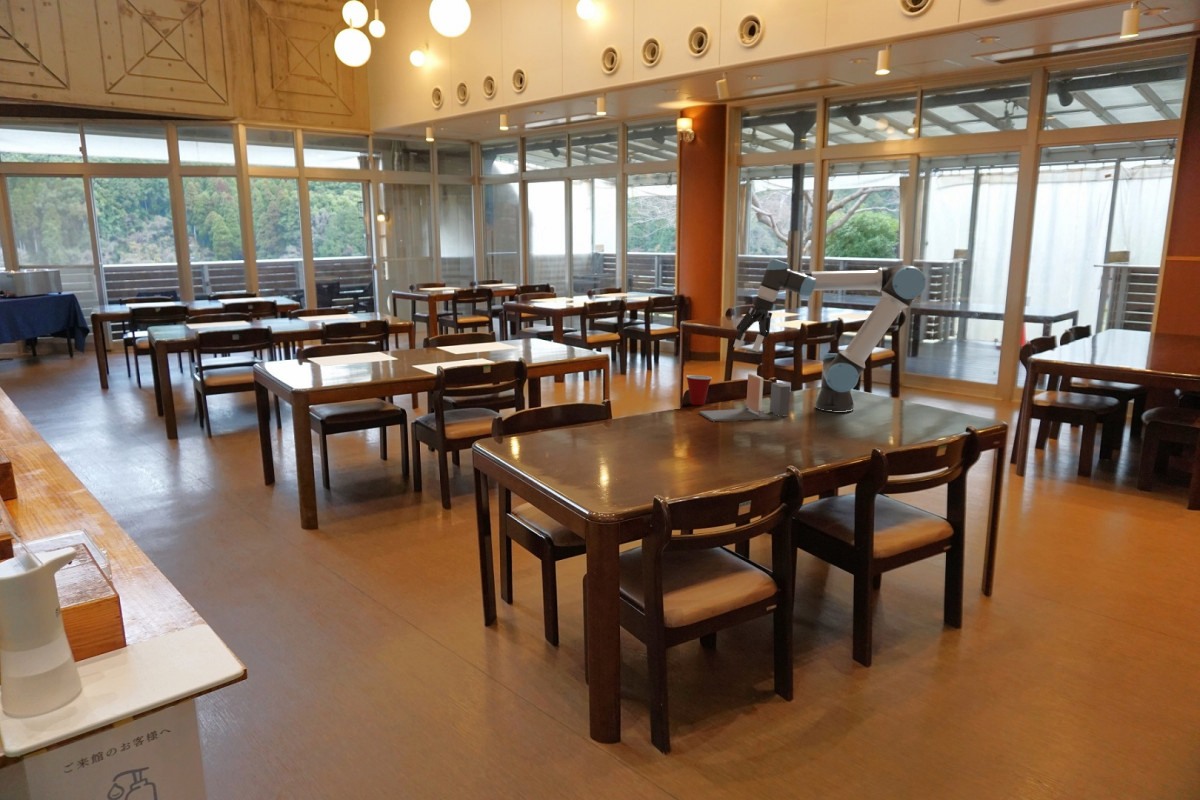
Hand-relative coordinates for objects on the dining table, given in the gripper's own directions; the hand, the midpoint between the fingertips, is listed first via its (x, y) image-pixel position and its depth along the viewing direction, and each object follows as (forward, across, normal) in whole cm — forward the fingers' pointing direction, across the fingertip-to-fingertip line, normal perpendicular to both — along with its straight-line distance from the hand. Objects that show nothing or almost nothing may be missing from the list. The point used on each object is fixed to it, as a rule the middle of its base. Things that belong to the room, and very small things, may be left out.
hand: (745, 349), depth 311 cm
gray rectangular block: (+20, -11, +18) cm, 29 cm away
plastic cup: (+30, -2, -14) cm, 33 cm away
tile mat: (+25, +5, +10) cm, 27 cm away
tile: (+21, -1, +13) cm, 24 cm away
